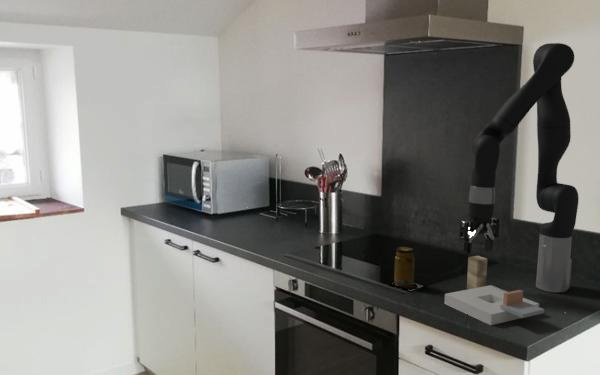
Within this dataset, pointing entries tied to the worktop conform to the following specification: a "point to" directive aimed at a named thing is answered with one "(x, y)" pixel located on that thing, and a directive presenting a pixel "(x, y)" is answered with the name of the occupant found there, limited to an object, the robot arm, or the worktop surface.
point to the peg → (476, 272)
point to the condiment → (405, 268)
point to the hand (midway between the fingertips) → (477, 252)
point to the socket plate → (482, 304)
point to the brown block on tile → (519, 305)
